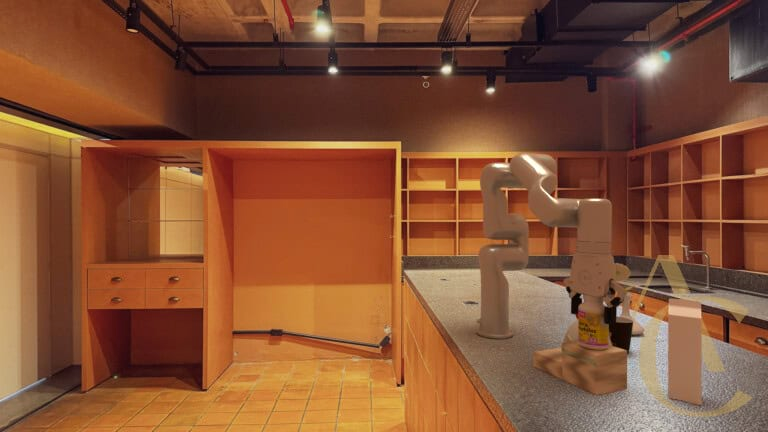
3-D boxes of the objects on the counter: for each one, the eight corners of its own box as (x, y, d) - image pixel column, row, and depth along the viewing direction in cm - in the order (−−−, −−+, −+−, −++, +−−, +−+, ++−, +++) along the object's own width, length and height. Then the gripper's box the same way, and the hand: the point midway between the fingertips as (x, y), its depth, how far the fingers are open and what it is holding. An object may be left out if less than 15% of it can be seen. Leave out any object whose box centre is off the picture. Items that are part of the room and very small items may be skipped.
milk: (668, 390, 96) (668, 296, 97) (701, 396, 93) (700, 299, 93) (668, 398, 91) (667, 300, 92) (702, 405, 88) (701, 303, 88)
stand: (532, 366, 111) (533, 333, 111) (561, 361, 115) (561, 329, 115) (595, 395, 93) (595, 355, 93) (627, 388, 96) (627, 350, 97)
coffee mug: (638, 357, 119) (638, 323, 120) (606, 355, 121) (606, 321, 121) (623, 345, 131) (623, 314, 131) (594, 344, 132) (594, 313, 133)
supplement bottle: (572, 344, 101) (572, 292, 101) (590, 341, 104) (590, 291, 104) (596, 352, 95) (596, 297, 95) (615, 348, 98) (615, 295, 98)
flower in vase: (650, 334, 145) (650, 264, 145) (635, 339, 139) (635, 265, 139) (612, 326, 156) (612, 261, 156) (597, 330, 149) (597, 262, 150)
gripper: (555, 246, 106) (553, 311, 106) (614, 252, 90) (613, 329, 90) (576, 246, 109) (575, 309, 109) (637, 251, 93) (636, 326, 93)
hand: (592, 318), depth 100 cm, fingers open, 9 cm apart
